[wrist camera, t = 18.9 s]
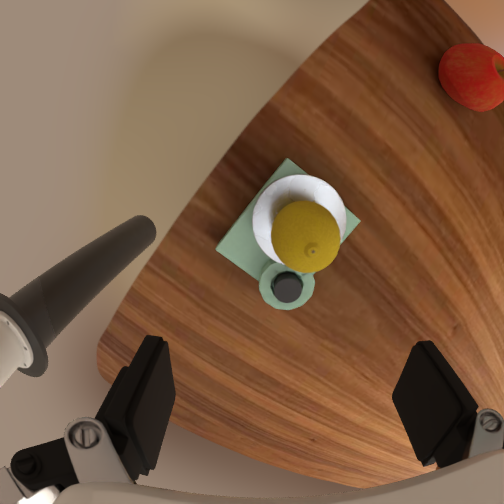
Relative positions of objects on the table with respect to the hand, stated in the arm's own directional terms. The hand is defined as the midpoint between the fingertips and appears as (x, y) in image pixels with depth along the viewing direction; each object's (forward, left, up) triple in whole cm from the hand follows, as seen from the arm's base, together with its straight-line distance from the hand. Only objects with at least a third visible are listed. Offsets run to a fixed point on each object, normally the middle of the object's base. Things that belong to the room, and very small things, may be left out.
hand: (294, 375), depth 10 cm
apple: (+22, +20, -23) cm, 38 cm away
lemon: (+2, +1, -19) cm, 19 cm away
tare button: (+2, -6, -20) cm, 21 cm away
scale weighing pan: (+2, +1, -19) cm, 20 cm away
